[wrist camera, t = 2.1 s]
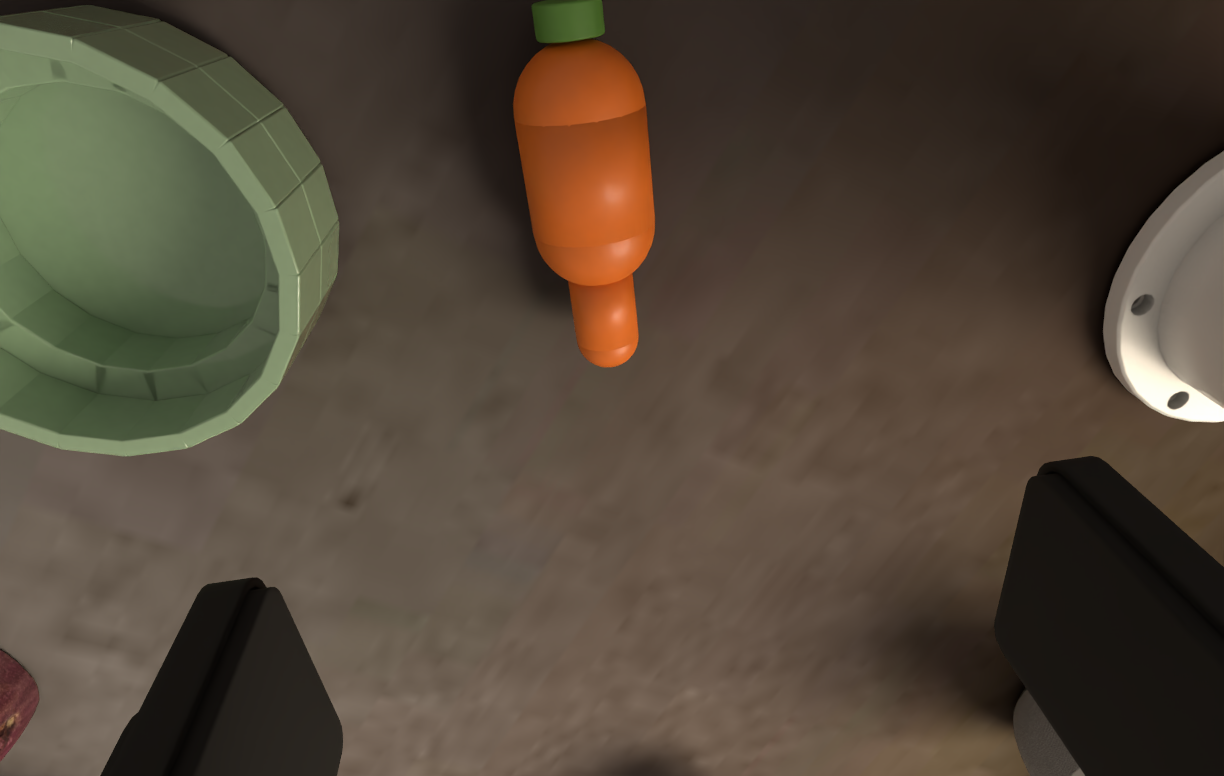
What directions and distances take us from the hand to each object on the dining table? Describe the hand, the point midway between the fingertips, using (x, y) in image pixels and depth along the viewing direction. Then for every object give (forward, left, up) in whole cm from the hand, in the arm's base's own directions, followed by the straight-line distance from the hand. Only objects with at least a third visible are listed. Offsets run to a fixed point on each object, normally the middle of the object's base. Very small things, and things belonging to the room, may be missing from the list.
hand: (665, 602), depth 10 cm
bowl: (+14, -1, -19) cm, 24 cm away
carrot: (0, 0, -19) cm, 19 cm away
